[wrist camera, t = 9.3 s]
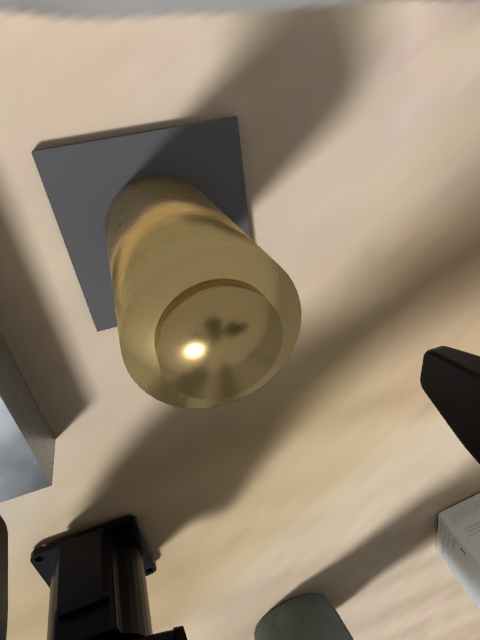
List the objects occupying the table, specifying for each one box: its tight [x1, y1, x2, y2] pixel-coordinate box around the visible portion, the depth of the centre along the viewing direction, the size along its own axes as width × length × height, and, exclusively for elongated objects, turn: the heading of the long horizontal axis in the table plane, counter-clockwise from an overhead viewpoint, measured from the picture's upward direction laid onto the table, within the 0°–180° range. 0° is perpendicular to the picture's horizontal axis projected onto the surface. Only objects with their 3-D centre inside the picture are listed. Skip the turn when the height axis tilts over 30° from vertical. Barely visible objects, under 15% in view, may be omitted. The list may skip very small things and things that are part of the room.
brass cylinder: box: [104, 174, 301, 409], centre depth 14 cm, size 5×5×10 cm
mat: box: [32, 116, 250, 332], centre depth 18 cm, size 8×8×1 cm
